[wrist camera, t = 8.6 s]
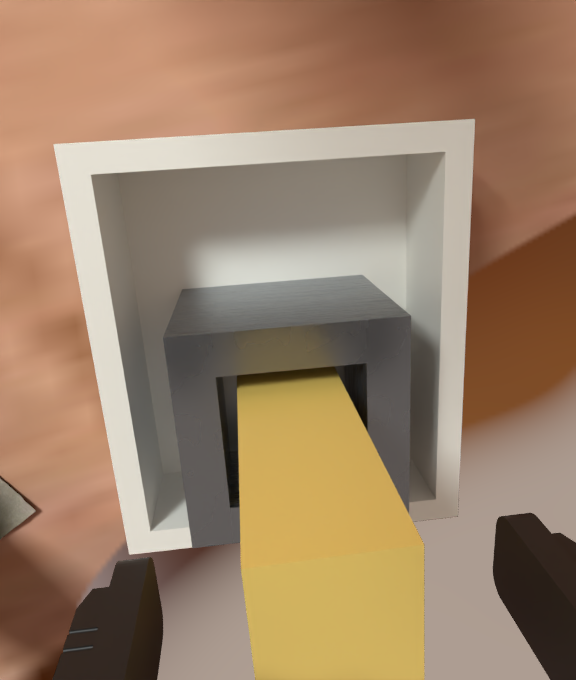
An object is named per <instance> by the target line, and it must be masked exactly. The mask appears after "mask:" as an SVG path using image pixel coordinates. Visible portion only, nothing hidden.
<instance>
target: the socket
mask: <svg viewBox="0 0 576 680" xmlns="http://www.w3.org/2000/svg"><path fill="white" fill-rule="evenodd" d="M163 342H164V349H165V356H166V364H167V371H168V378H169V385H170V392H171V399H172V406H173V413H174V421H175V428H176V435H177V442H178V449H179V456H180V463H181V471H182V478H183V485H184V492H185V499H186V506H187V513H188V521H189V528H190V535H191V542H192V548H197V547H206V546H215V545H224V544H233V543H240V500H239V454H238V409H237V375H246V374H256V373H267V372H278V371H289V370H299V369H310V368H321V367H332V366H334V367H335V369H336V371H337V373H338V375H339V377H340V379H341V381H342V383H343V385H344V387H345V389H346V391H347V393H348V395H349V397H350V399H351V401H352V403H353V405H354V407H355V409H356V410H357V412H358V414H359V416H360V418H361V420H362V422H363V424H364V426H365V428H366V430H367V432H368V434H369V436H370V438H371V440H372V442H373V444H374V446H375V448H376V450H377V452H378V454H379V456H380V458H381V460H382V462H383V464H384V466H385V468H386V470H387V472H388V474H389V476H390V478H391V480H392V482H393V484H394V486H395V488H396V490H397V492H398V494H399V496H400V498H401V499H402V501H403V503H404V505H405V507H406V509H407V511H408V513H409V480H410V381H411V315H409V314H408V313H407V312H406V311H405V310H404V309H402V308H401V307H400V306H399V305H398V304H396V303H395V302H394V301H393V300H392V299H391V298H389V297H388V296H387V295H386V294H385V293H383V292H382V291H381V290H380V289H379V288H377V287H376V286H375V285H374V284H373V283H372V282H370V281H369V280H368V279H367V278H366V277H364V276H363V275H352V276H340V277H328V278H315V279H303V280H290V281H278V282H266V283H253V284H241V285H228V286H216V287H204V288H191V289H182V291H181V294H180V296H179V299H178V301H177V304H176V306H175V309H174V311H173V314H172V316H171V319H170V321H169V324H168V326H167V329H166V331H165V334H164V336H163Z"/></svg>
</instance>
